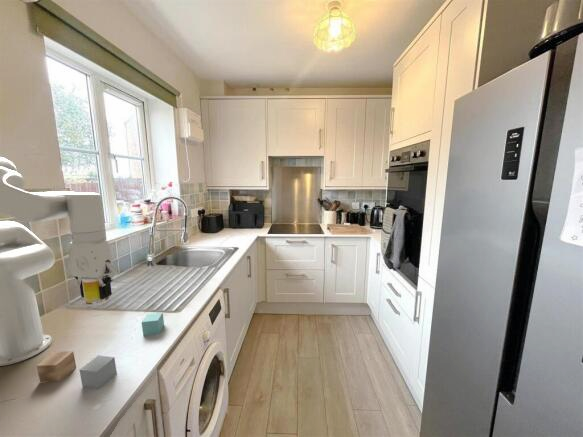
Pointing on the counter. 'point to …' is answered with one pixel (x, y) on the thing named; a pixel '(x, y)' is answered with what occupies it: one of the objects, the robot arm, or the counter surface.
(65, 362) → the walnut block
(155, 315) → the teal block
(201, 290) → the counter surface
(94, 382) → the slate block
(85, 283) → the supplement bottle
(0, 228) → the robot arm
